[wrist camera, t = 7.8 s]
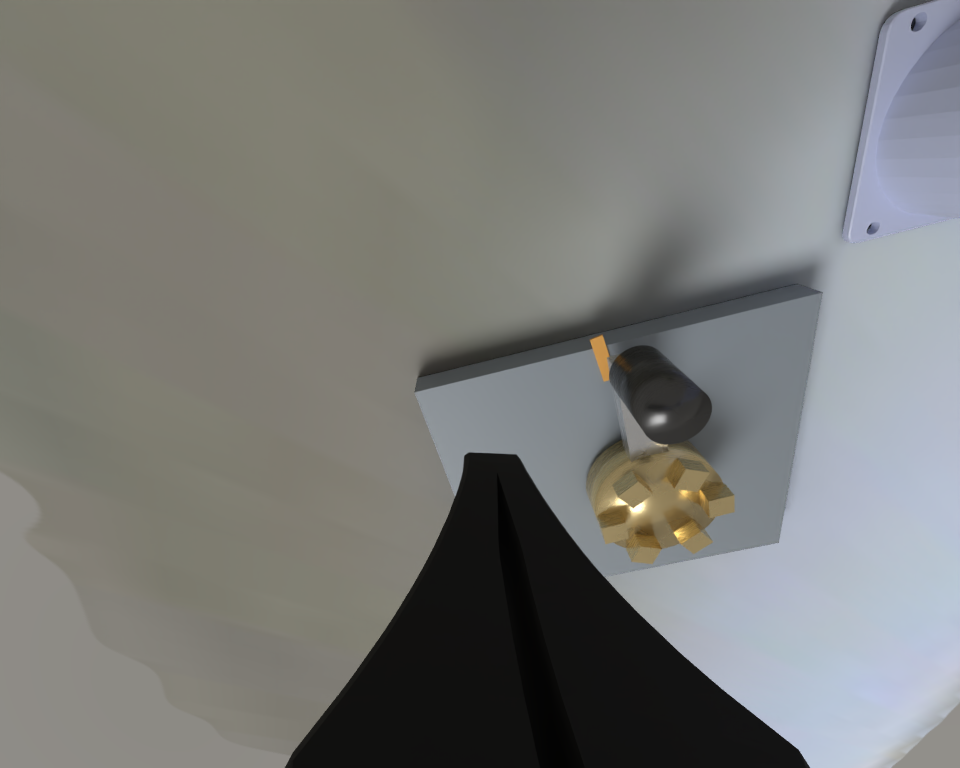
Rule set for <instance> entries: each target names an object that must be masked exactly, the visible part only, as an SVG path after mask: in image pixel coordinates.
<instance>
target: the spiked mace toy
mask: <svg viewBox="0 0 960 768" xmlns="http://www.w3.org/2000/svg"><path fill="white" fill-rule="evenodd" d="M607 362H608V367H609V380H610V383H611V386H612V389H613V394H614V399H615V405H616V410H617V415H618V421H619V426H620V431H621V437H622V440H620V441H618V442H617V443H615V444H613V445H612V446H610V447H609V448H607V449H606V450H605V451H604V452H603V453H602V454H601V455H600V456H599V457H598V458H597V459H596V460H595V462H594V463H593V465H592V466H591V468H590V470H589V473H588V476H587V480H586V491H587V495H588V498H589V501H590V503H591V506H592V508H593V511H594V513H595V516H596V519H597V521H598V524H599V527H600V531H601V534H602V536H603V539H604V541H605V544H609V543H615V544H616V545H619V546H621V547H624V548H626V550H627V552H628V555H629V557H630V559H631V562H637V563H646V564H653V563H654V561H655V559H656V558H657V556H658V555H659V553H660V551H661V550H662V549H664V548H668V547H671V546H675V545H677V544H681V545H682V546H683V547H685V548H686V549H687V550H689V551H690V552H691V553H693V554H695V553H697V552H698V551H700V550H701V549H703V548H705V547H706V546H708V545H709V544H711V543H713V541H712V539H711V538H710V536H709V535H708V533H707V532H706V530H705V528H706V527H707V526H708V525H709V524H710V523H711V522H712V521H713V520H714V519H715V517H717V516H721V515H725V514H729V513H733V512H735V499H734V494H733V493H732V492H731V490H730V489H729V488H728V487H727V486H726V484H725V483H724V484H723V482H722V479H721V478H720V476H719V475H718V473H717V472H716V471H715V470H714V469H713V468H712V466H711V465H710V464H709V463H708V462H707V460H706V459H705V458H704V457H703V456H702V455H701V453H700V452H699V451H698V450H697V449H696V447H695V446H694V445H693V444H692V443H691V442H690V441H688V440H689V439H690V438H692V437H694V436H695V435H697V434H698V433H699V432H700V431H701V430H702V429H703V428H704V427H705V426H706V424H707V423H708V421H709V419H710V416H711V413H712V403H711V400H710V398H709V396H708V395H707V394H706V393H705V392H704V391H703V390H702V389H701V388H699V387H698V386H697V385H696V384H695V383H694V382H693V381H692V380H691V379H690V378H689V377H687V376H686V375H685V374H684V373H683V372H682V371H681V370H680V369H679V368H678V367H676V366H675V365H674V364H673V363H672V362H671V361H670V360H669V359H668V358H667V357H666V356H664V355H663V354H662V353H661V352H660V351H659V350H658V349H656V348H654V347H652V346H647V345H639V346H634V347H631V348H629V349H627V350H625V351H624V352H622V353H621V354H617V355H614V356H611V357H607Z"/></svg>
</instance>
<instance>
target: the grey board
mask: <svg viewBox="0 0 960 768" xmlns="http://www.w3.org/2000/svg"><path fill="white" fill-rule="evenodd" d="M822 293H823V292H820V291H817V290H814V289H811V288H808V287H805V286H802V285H799V284H795V285H791V286H787V287H783V288H779V289H775V290H771V291H767V292H763V293H759V294H755V295H750V296H746V297H742V298H738V299H734V300H730V301H726V302H722V303H718V304H714V305H710V306H706V307H702V308H698V309H694V310H690V311H686V312H682V313H678V314H674V315H670V316H666V317H662V318H658V319H654V320H650V321H646V322H642V323H638V324H634V325H629V326H625V327H621V328H617V329H613V330H609V331H605V332H601V333H597V334H593V335H589V336H585V337H581V338H577V339H573V340H569V341H565V342H561V343H557V344H553V345H549V346H545V347H541V348H537V349H533V350H529V351H525V352H521V353H517V354H513V355H508V356H504V357H500V358H496V359H492V360H488V361H484V362H480V363H476V364H472V365H468V366H464V367H460V368H456V369H452V370H448V371H444V372H440V373H436V374H432V375H428V376H424V377H420V378H417V383H416V388H415V395H416V398H417V400H418V403H419V405H420V408H421V410H422V413H423V416H424V418H425V421H426V423H427V426H428V428H429V431H430V434H431V436H432V439H433V441H434V444H435V446H436V449H437V452H438V454H439V457H440V459H441V462H442V464H443V467H444V470H445V472H446V475H447V477H448V480H449V482H450V485H451V488H452V490H453V493H454V495H455V496H456V493H457V490H458V487H459V484H460V480H461V477H462V472H463V464H464V455H466V454H467V453H469V452H474V453H498V454H517V455H518V457H519V458H520V459H521V461H522V463H523V465H524V466H525V468H526V470H527V472H528V473H529V475H530V477H531V478H532V480H533V482H534V483H535V485H536V487H537V488H538V490H539V491H540V493H541V495H542V496H543V498H544V499H545V501H546V502H547V504H548V505H549V507H550V508H551V509H552V511H553V512H554V514H555V515H556V517H557V518H558V520H559V521H560V522H561V524H562V525H563V526H564V528H565V529H566V531H567V532H568V533H569V535H570V536H571V537H572V538H573V540H574V541H575V542H576V544H577V545H578V546H579V547H580V549H581V550H582V551H583V553H584V554H585V555H586V556H587V557H588V559H589V560H590V561H591V562H592V563H593V565H594V566H595V567H596V568H597V569H598V571H599V572H600V573H601V574H602V575H603V576H604V577H607V576H612V575H617V574H622V573H627V572H632V571H637V570H642V569H647V568H653V567H658V566H663V565H668V564H673V563H678V562H683V561H688V560H693V559H698V558H703V557H709V556H714V555H719V554H724V553H729V552H734V551H739V550H744V549H749V548H754V547H759V546H765V545H770V544H775V543H779V538H780V533H781V527H782V521H783V516H784V510H785V504H786V499H787V493H788V487H789V481H790V476H791V470H792V464H793V459H794V453H795V447H796V441H797V436H798V430H799V424H800V419H801V413H802V407H803V402H804V396H805V390H806V384H807V379H808V373H809V367H810V362H811V356H812V350H813V344H814V339H815V333H816V327H817V322H818V316H819V310H820V305H821V299H822ZM639 345H647V346H652V347H654V348H656V349H658V350H659V351H660V352H661V353H662V354H663V355H664V356H666V357H667V358H668V359H669V360H670V361H671V362H672V363H673V364H674V365H675V366H676V367H678V368H679V369H680V370H681V371H682V372H683V373H684V374H685V375H686V376H687V377H689V378H690V379H691V380H692V381H693V382H694V383H695V384H696V385H697V386H698V387H699V388H701V389H702V390H703V391H704V392H705V393H706V394H707V395H708V396H709V398H710V400H711V403H712V413H711V416H710V419H709V421H708V423H707V424H706V426H705V427H704V428H703V429H702V430H701V431H700V432H699V433H698V434H697V435H695V436H694V437H692V438H690V439H689V440H688V441H690V442H691V443H692V444H693V445H694V446H695V447H696V449H697V450H698V451H699V452H700V453H701V455H702V456H703V457H704V458H705V459H706V460H707V462H708V463H709V464H710V465H711V466H712V468H713V469H714V470H715V471H716V472H717V473H718V475H719V476H720V478H721V479H722V482H723V484H724V483H725V484H726V486H727V487H728V488H729V489H730V490H731V492H732V493H733V494H734V499H735V512H733V513H729V514H725V515H721V516H717V517H715V519H714V520H713V521H712V522H711V523H710V524H709V525H708V526H707V527H706V528H705V530H706V532H707V533H708V535H709V536H710V538H711V539H712V541H713V543H711V544H709V545H708V546H706V547H705V548H703V549H701V550H700V551H698V552H697V553H695V554H693V553H691V552H690V551H689V550H687V549H686V548H685V547H683V546H682V545H681V544H677V545H675V546H671V547H668V548H664V549H662V550H661V551H660V553H659V555H658V556H657V558H656V559H655V561H654V563H653V564H646V563H637V562H631V559H630V557H629V555H628V552H627V550H626V548H624V547H621V546H619V545H616V544H615V543H609V544H605V541H604V539H603V536H602V534H601V531H600V527H599V524H598V521H597V519H596V516H595V513H594V511H593V508H592V506H591V503H590V501H589V498H588V495H587V491H586V480H587V476H588V473H589V470H590V468H591V466H592V465H593V463H594V462H595V460H596V459H597V458H598V457H599V456H600V455H601V454H602V453H603V452H604V451H605V450H606V449H607V448H609V447H610V446H612V445H613V444H615V443H617V442H618V441H620V440H622V437H621V431H620V426H619V421H618V415H617V410H616V405H615V399H614V394H613V389H612V386H611V383H610V380H609V367H608V362H607V357H611V356H614V355H617V354H621V353H622V352H624V351H625V350H627V349H629V348H631V347H634V346H639Z"/></svg>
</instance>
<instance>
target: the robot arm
mask: <svg viewBox="0 0 960 768" xmlns="http://www.w3.org/2000/svg"><path fill="white" fill-rule="evenodd" d="M914 17H915V19H916V24H915V26H914V28H913V30H911V23H912V20H913V19H914ZM954 218H960V0H933V1H930V2H926V3H923V4H920V5H916V6H913V7H910V8H906V9H903V10H901V11H898V12H896V13H894V14H892V15H891V16H890V17H889V18H888V19H887V20H886V21H885V23H884V24H883V26H882V28H881V31H880V35H879V40H878V46H877V51H876V56H875V62H874V67H873V72H872V78H871V83H870V89H869V94H868V99H867V105H866V110H865V115H864V121H863V126H862V131H861V137H860V142H859V147H858V153H857V158H856V164H855V169H854V174H853V180H852V185H851V190H850V196H849V201H848V206H847V212H846V217H845V223H844V228H843V239H844V241H847V242H850V243H859V242H863V241H867V240H871V239H875V238H879V237H883V236H887V235H891V234H895V233H899V232H903V231H906V230H910V229H914V228H918V227H922V226H926V225H930V224H934V223H938V222H942V221H946V220H950V219H954ZM870 224H871V228H870V229H869V230H868V231H867V228H868V226H869V225H870ZM285 768H810V767H809V765H808V764H807V762H806V761H805V759H804V758H803V756H802V754H801V753H800V751H799V750H798V749H797V748H796V747H794V746H793V745H792V744H791V743H789V742H788V741H787V740H785V739H784V738H783V737H782V736H780V735H779V734H778V733H777V732H775V731H774V730H773V729H772V728H770V727H769V726H768V725H766V724H765V723H764V722H763V721H761V720H760V719H759V718H758V717H756V716H755V715H754V714H753V713H751V712H750V711H749V710H747V709H746V708H745V707H744V706H742V705H741V704H740V703H739V702H737V701H736V700H735V699H734V698H732V697H731V696H730V695H728V694H727V693H726V692H725V691H724V690H722V689H721V688H720V687H719V686H718V685H716V684H715V683H714V682H713V681H712V680H711V679H709V678H708V677H707V676H706V675H705V674H704V673H703V672H701V671H700V670H699V669H698V668H697V667H696V666H694V665H693V664H692V663H691V662H690V661H689V660H687V659H686V658H685V657H684V656H683V655H682V654H681V653H680V652H678V651H677V650H676V649H675V648H674V647H673V646H672V645H671V644H670V643H669V642H668V641H667V640H666V639H665V638H664V637H663V636H662V635H661V634H660V633H659V632H657V631H656V630H655V629H654V628H653V627H652V626H651V625H650V624H649V623H648V622H647V621H646V620H645V619H644V618H643V617H642V616H641V615H640V614H639V613H637V611H636V610H635V609H634V608H633V607H632V606H631V605H630V604H629V603H628V602H627V601H626V600H625V599H624V598H623V597H622V596H621V595H620V594H619V593H618V592H617V591H616V590H615V588H614V587H613V586H612V585H611V584H610V583H609V582H608V581H607V579H606V578H605V577H604V576H603V575H602V574H601V573H600V572H599V571H598V569H597V568H596V567H595V566H594V565H593V563H592V562H591V561H590V560H589V559H588V557H587V556H586V555H585V554H584V553H583V551H582V550H581V549H580V547H579V546H578V545H577V544H576V542H575V541H574V540H573V538H572V537H571V536H570V535H569V533H568V532H567V531H566V529H565V528H564V526H563V525H562V524H561V522H560V521H559V520H558V518H557V517H556V515H555V514H554V512H553V511H552V509H551V508H550V507H549V505H548V504H547V502H546V501H545V499H544V498H543V496H542V495H541V493H540V491H539V490H538V488H537V487H536V485H535V483H534V482H533V480H532V478H531V477H530V475H529V473H528V472H527V470H526V468H525V466H524V465H523V463H522V461H521V459H520V458H519V457H518V455H517V454H498V453H474V452H469V453H467V454H466V455H464V464H463V472H462V477H461V480H460V484H459V487H458V490H457V493H456V496H455V499H454V501H453V504H452V507H451V510H450V512H449V515H448V517H447V519H446V522H445V524H444V526H443V528H442V530H441V533H440V535H439V537H438V539H437V541H436V544H435V546H434V548H433V550H432V552H431V554H430V555H429V557H428V559H427V561H426V563H425V565H424V567H423V569H422V570H421V572H420V574H419V576H418V578H417V579H416V581H415V583H414V585H413V586H412V588H411V590H410V591H409V593H408V594H407V596H406V598H405V599H404V601H403V603H402V604H401V606H400V608H399V609H398V611H397V612H396V614H395V616H394V617H393V619H392V620H391V622H390V623H389V625H388V626H387V628H386V629H385V631H384V632H383V634H382V635H381V637H380V638H379V639H378V641H377V642H376V644H375V645H374V647H373V648H372V649H371V651H370V652H369V654H368V655H367V656H366V658H365V659H364V661H363V662H362V664H361V665H360V666H359V668H358V669H357V671H356V672H355V673H354V675H353V676H352V678H351V679H350V680H349V682H348V683H347V684H346V686H345V687H344V688H343V690H342V691H341V692H340V694H339V695H338V696H337V697H336V699H335V700H334V701H333V702H332V704H331V705H330V706H329V707H328V709H327V710H326V711H325V713H324V714H323V715H322V716H321V718H320V719H319V720H318V721H317V723H316V724H315V725H314V727H313V728H312V729H311V730H310V732H309V733H308V734H307V735H306V737H305V738H304V739H303V740H302V742H301V743H300V744H299V746H298V747H297V748H296V749H295V751H294V752H293V754H292V755H291V757H290V759H289V761H288V763H287V765H286V767H285Z"/></svg>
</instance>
